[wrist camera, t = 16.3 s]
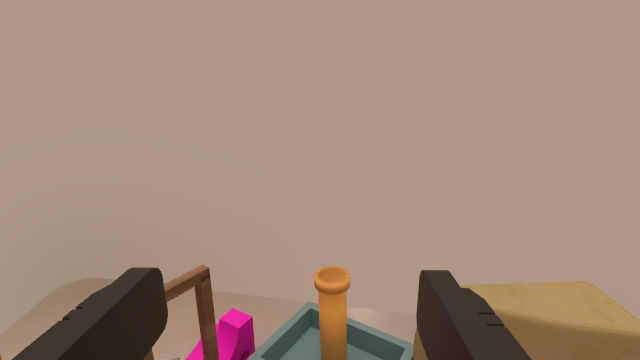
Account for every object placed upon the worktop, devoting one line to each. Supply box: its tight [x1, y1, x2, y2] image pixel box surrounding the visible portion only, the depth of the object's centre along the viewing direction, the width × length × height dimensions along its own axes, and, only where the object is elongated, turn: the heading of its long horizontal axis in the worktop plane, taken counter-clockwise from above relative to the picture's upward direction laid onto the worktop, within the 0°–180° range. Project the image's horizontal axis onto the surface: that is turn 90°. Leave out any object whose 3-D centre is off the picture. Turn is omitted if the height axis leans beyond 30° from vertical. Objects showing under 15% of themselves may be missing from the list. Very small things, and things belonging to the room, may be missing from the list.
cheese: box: [413, 281, 640, 360], centre depth 38 cm, size 22×10×15 cm, turn 84°
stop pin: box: [314, 266, 350, 360], centre depth 40 cm, size 4×4×15 cm
